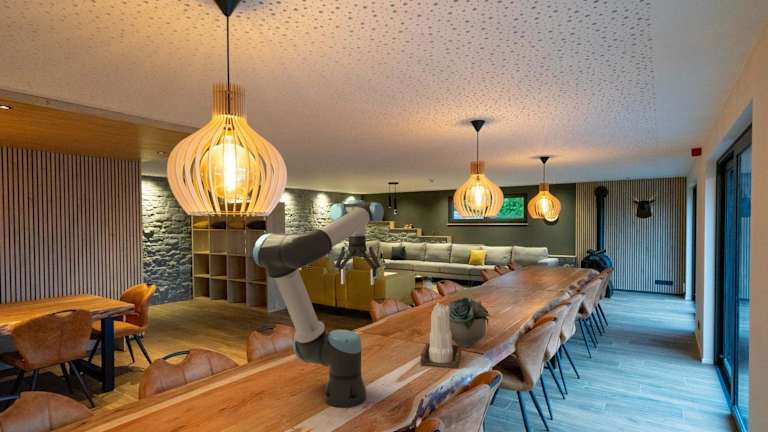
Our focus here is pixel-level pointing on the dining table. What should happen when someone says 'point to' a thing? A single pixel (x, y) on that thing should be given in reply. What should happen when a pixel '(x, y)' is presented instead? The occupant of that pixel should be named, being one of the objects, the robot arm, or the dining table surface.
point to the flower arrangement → (467, 321)
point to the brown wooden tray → (452, 364)
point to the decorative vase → (440, 335)
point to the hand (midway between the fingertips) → (357, 284)
